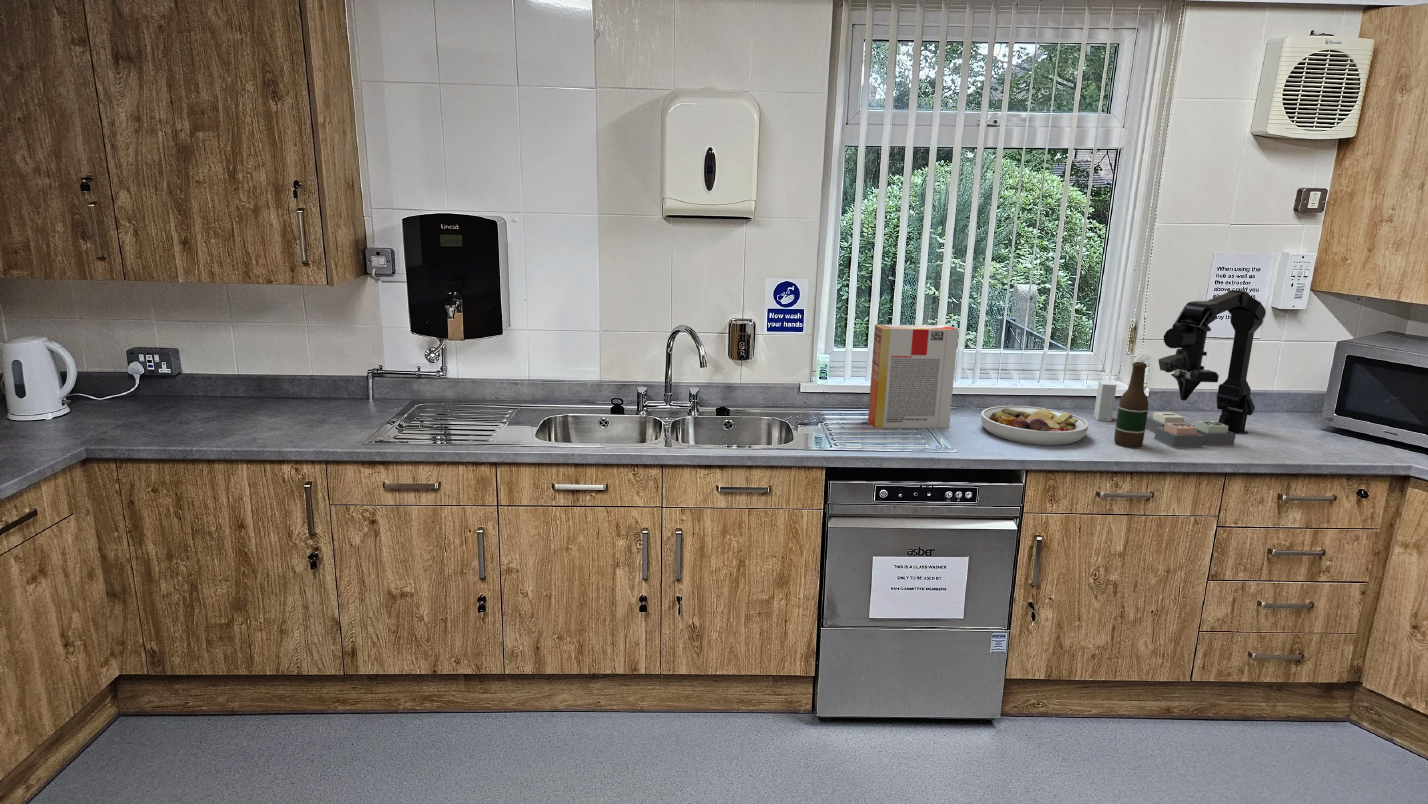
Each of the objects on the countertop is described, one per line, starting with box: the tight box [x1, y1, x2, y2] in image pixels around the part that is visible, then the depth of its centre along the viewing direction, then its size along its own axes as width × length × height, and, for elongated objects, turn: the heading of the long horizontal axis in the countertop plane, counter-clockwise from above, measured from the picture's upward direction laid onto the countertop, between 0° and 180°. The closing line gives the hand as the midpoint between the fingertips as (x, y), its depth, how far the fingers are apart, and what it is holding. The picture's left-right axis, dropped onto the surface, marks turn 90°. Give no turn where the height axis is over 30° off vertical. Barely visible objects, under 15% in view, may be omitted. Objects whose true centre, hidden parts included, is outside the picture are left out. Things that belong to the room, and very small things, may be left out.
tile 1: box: [1152, 411, 1185, 424], centre depth 259 cm, size 6×6×3 cm
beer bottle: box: [1113, 361, 1149, 449], centre depth 243 cm, size 8×8×24 cm
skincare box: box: [1093, 380, 1117, 422], centre depth 272 cm, size 6×4×12 cm
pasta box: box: [867, 324, 959, 429], centre depth 258 cm, size 23×8×30 cm, turn 94°
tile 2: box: [1194, 420, 1228, 433], centre depth 250 cm, size 6×6×3 cm
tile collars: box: [1145, 416, 1237, 449], centre depth 254 cm, size 20×21×4 cm
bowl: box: [980, 405, 1089, 446], centre depth 254 cm, size 30×30×8 cm
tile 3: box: [1164, 422, 1197, 435], centre depth 247 cm, size 6×6×3 cm
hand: (1183, 400), depth 247 cm, fingers closed
